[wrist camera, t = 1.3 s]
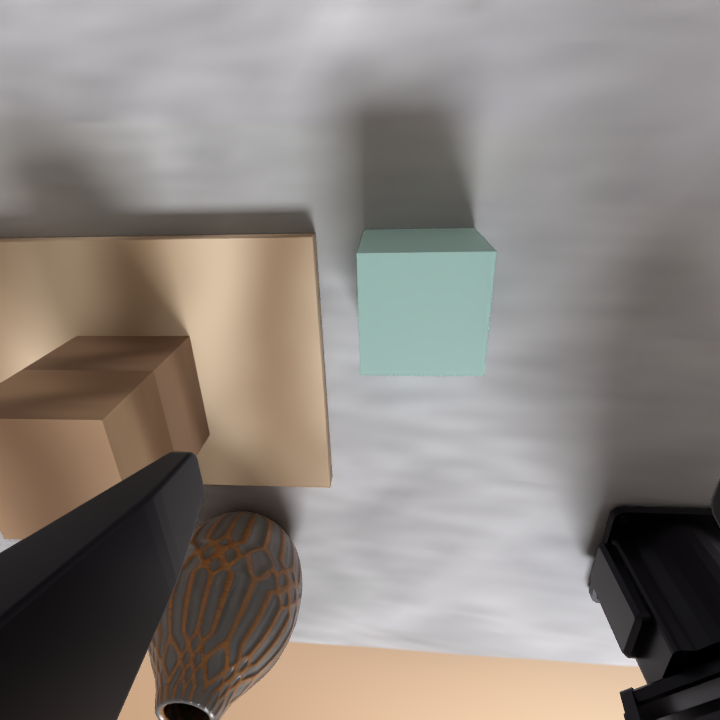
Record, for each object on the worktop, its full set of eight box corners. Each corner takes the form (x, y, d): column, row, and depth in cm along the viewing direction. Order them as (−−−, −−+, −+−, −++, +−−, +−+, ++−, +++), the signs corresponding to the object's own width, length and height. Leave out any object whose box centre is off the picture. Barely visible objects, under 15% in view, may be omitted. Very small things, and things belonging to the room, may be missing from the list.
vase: (265, 472, 23) (199, 643, 15) (335, 559, 26) (308, 746, 18) (163, 516, 25) (57, 689, 17) (236, 594, 27) (173, 777, 20)
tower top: (153, 370, 16) (101, 420, 13) (181, 480, 18) (141, 543, 16) (21, 369, 17) (-57, 417, 14) (64, 477, 19) (4, 538, 16)
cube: (474, 227, 17) (496, 251, 14) (466, 329, 19) (484, 376, 15) (364, 229, 18) (356, 253, 14) (366, 329, 20) (360, 375, 16)
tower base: (189, 335, 19) (153, 370, 16) (209, 434, 21) (181, 480, 18) (76, 335, 20) (21, 369, 17) (107, 432, 22) (64, 477, 19)
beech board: (315, 233, 18) (312, 237, 17) (332, 476, 23) (330, 487, 22) (-67, 239, 19) (-85, 243, 18) (31, 469, 24) (20, 479, 23)
